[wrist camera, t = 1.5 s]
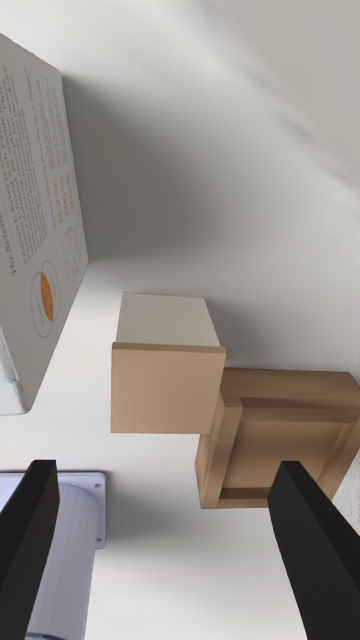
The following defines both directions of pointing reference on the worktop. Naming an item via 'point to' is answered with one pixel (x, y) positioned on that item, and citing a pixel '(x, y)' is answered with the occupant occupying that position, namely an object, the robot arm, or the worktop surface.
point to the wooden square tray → (276, 433)
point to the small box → (34, 223)
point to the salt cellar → (165, 366)
